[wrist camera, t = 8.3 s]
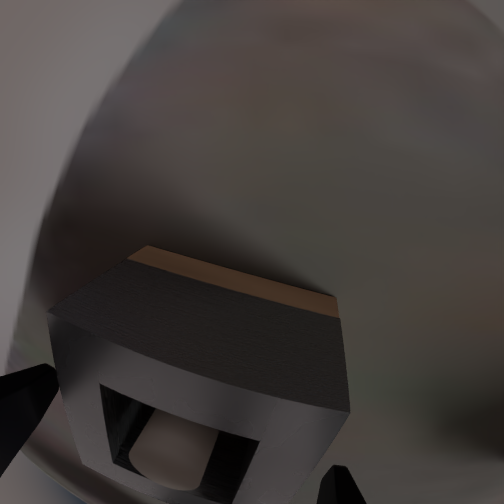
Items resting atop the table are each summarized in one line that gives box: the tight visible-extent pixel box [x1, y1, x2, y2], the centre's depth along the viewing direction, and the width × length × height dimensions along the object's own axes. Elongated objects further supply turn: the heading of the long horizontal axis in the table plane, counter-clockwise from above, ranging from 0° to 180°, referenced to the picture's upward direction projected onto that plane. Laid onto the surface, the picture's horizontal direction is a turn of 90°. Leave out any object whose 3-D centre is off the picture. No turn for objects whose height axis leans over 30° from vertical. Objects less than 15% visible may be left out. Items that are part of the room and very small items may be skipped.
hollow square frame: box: [46, 258, 350, 504], centre depth 9 cm, size 7×7×4 cm
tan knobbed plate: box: [127, 245, 339, 490], centre depth 9 cm, size 7×7×6 cm
